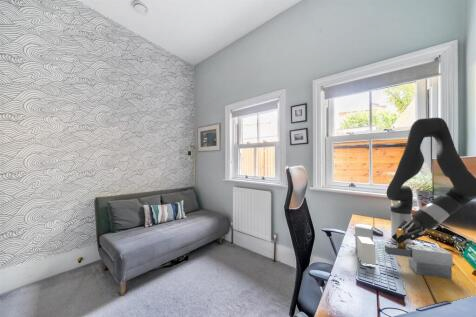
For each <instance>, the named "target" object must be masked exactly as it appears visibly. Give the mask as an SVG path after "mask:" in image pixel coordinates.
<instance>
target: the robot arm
mask: <svg viewBox="0 0 476 317" xmlns="http://www.w3.org/2000/svg"><path fill="white" fill-rule="evenodd" d="M408 132H409V133H408V138H407V140H406V145H405V148H404V150H403V152H402V155H401V157H400V160H399V162H398V165H397V168H396V171H395V172H394V175H393V177H392V178H391V181H390V183H389V184H388V186H387V189H386V197H387V198H388V199H389V200H391V201H394V202H396V201H397V202H399V203H396V204H394V205H391V207H390V229H391V230H390V232H391V235H390V236H391V240H392V241H393V242H396V243H397V242H398V243H399V244H401V243H402V242H404V241H405V245H406V244H410V245H413V241H414V240H417V239H419V238H422V237H425V236H426V235H427V233H426V232H424V231H425V230H429V231H431V230H432V229H434V228H436V227H437V226H438V225H440V224H442V223H443V222H444V221H446V219H448V218H449V217H450V216H451V215H452V214H455V213H456V212H457V211H458V210H459V209H460V208H461V207H463V206H465V205H466V204H468V203H470V202H471V201H473V200H474V199H476V177H475V176H474V174H473V173H472V172H470V171H469V170H468V168H467V166H466V164H465V162H464V161H463V160H462V158H461V156H460V154H459V153H458V150H457V149H456V146H455V143H454V139H453V138H452V135H451V132H450V129H449V126H448V124H447V122H446V121H445V119H443V118H441V117H426V118H418V119H416V120H414V121H413V123H412V124H411V126H410V129H409V131H408ZM425 138H433V139H434V140H435V141H436V143H437V151H436V162H437V164H438V166H439V168H440V170H441V172H442V174H443V175H444V176H445V177H446V178H448V179H449V181H450V182H451V184H452V187H450V189H448V190H447V191H445V192H444V193H443V194H442V195H439V196H437V197H436V198H435V199H433V200H432V201H431V202H429V203H427V204H425V205H423V206H422V207H421V208H419V209H418V210H417V211H415V212H414V213H412V211H413V200H414V199H413V198H414V194H413V190H412V188H411V187H410V186H408V185H404V184H405V183H406V182H408V181H409V180H411V179H412V178H414V177H416V175H418V174H419V173H420V172H421V169H422V167H423V165H424V163H425V157H424V154H423V152H422V150H421V146H422V143H423V141H424V139H425ZM397 229H404V230H405V232H404V233H403V234H402V235H400V236H399V237H398V238H397Z"/></svg>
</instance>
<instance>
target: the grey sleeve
mask: <svg viewBox="0 0 476 317" xmlns="http://www.w3.org/2000/svg"><path fill="white" fill-rule="evenodd" d="M405 247H409V248H410V249H411V250H412V257H408V267H409V268H410V269H411V270H412V271H413V272H414V273H415V274H417V275H422V276H427V277H432V278H433V277H434V278H441V279H446V280H453V270H452V268H453V267H454V265H453V264H454V262H453V260H454V259H453V258H454V257H453V256H454V255H453V253H452V252H450V251H448V250H446V249H445V248H441V247H432V246H425V245H417V244H405Z"/></svg>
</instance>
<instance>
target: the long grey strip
mask: <svg viewBox="0 0 476 317" xmlns="http://www.w3.org/2000/svg"><path fill="white" fill-rule="evenodd" d="M404 232H405V230H404V229H397V238H398V237H399V236H400V235H402V234H403V233H404ZM384 252H385V253H387V255H393V256H398V257H399V256H400V257H406V258H407V257H408V258H409V257H412V250H411V249H410V248H409V247H406V244H405V241H404V242H402V243H401V244H399V243H398V242H396V245H391V244H384Z"/></svg>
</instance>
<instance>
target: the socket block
mask: <svg viewBox="0 0 476 317" xmlns="http://www.w3.org/2000/svg"><path fill="white" fill-rule="evenodd" d="M357 244H358V250H357V259H358V258H359V259H360V260H361V262H362V263H366V264H372V265H376V266H377V264H376V260H377V258H376V244H375V242H374V240H373V241H372V240H371V239H370V238H368V237H360V236H357ZM359 259H358V260H359ZM360 260H359V261H360ZM361 262H360V263H361Z"/></svg>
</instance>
